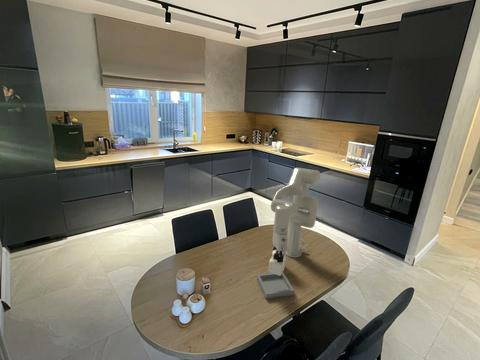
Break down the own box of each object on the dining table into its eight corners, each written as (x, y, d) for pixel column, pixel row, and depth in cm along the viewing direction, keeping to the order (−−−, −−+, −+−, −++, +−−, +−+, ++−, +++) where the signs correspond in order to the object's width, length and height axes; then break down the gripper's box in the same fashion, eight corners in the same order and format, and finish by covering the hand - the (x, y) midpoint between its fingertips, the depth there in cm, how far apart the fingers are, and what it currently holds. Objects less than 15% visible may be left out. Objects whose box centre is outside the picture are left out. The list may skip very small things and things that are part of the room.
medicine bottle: (284, 269, 143) (286, 250, 139) (280, 276, 137) (282, 257, 133) (272, 265, 146) (273, 246, 142) (267, 272, 140) (269, 253, 136)
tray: (282, 275, 154) (282, 271, 153) (293, 294, 139) (294, 290, 138) (256, 279, 150) (257, 274, 149) (265, 299, 135) (266, 294, 134)
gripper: (294, 236, 127) (290, 267, 132) (281, 220, 143) (278, 248, 148) (280, 237, 125) (277, 268, 130) (268, 221, 141) (265, 250, 146)
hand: (277, 257), depth 139 cm, fingers closed on medicine bottle, 6 cm apart
